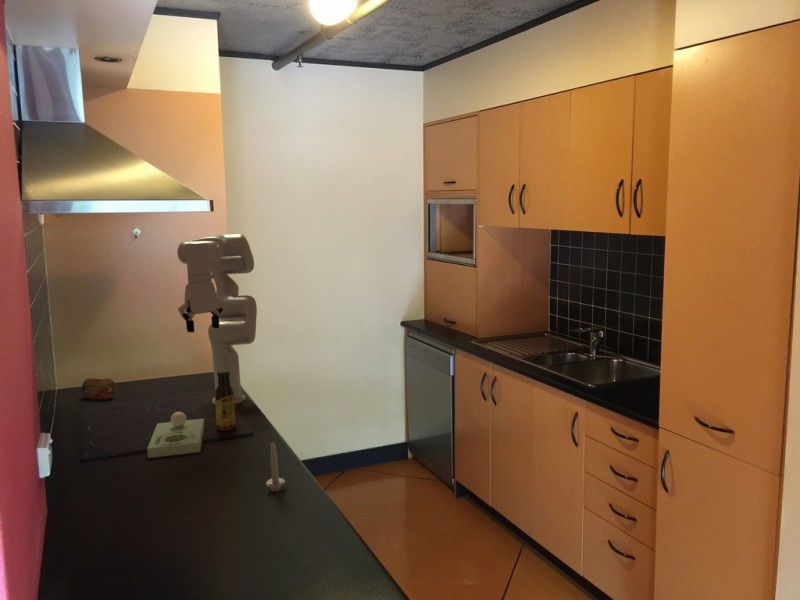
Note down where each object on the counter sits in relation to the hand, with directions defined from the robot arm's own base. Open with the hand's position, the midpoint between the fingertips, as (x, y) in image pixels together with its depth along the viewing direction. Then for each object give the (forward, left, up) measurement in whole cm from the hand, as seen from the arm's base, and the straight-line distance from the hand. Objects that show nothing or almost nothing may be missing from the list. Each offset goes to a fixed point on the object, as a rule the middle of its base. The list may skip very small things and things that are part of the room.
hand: (203, 330), depth 219 cm
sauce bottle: (+5, +5, -34) cm, 34 cm away
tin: (-52, -46, -34) cm, 77 cm away
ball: (+6, -10, -28) cm, 30 cm away
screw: (+59, +19, -34) cm, 71 cm away
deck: (+12, -10, -34) cm, 37 cm away
